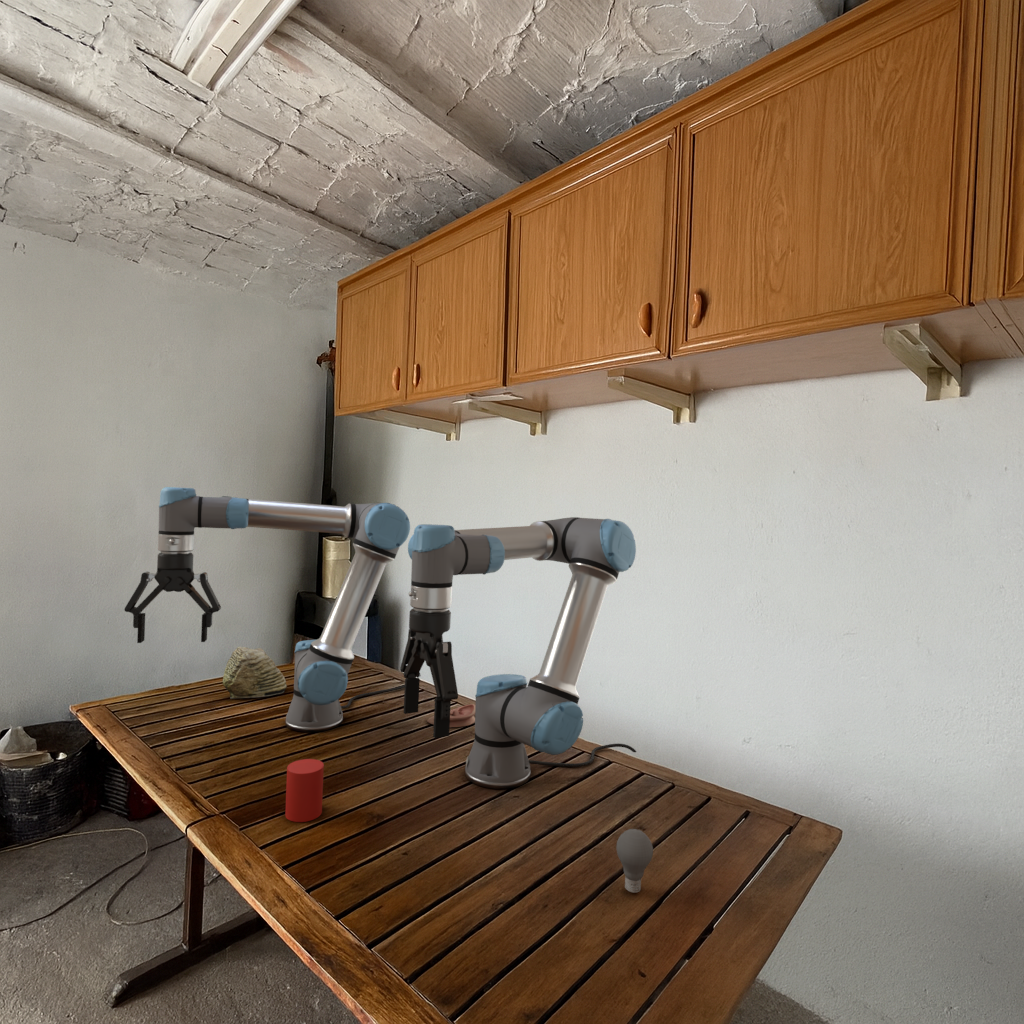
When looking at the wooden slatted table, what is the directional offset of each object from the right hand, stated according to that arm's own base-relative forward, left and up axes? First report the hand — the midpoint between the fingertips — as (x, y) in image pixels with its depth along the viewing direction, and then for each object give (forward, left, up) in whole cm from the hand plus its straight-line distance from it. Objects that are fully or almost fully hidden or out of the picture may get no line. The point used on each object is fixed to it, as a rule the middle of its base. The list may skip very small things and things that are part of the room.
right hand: (425, 724), depth 116 cm
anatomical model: (-32, -57, -23) cm, 69 cm away
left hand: (+40, -62, +5) cm, 74 cm away
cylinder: (+17, -21, -23) cm, 35 cm away
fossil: (+16, -102, -23) cm, 106 cm away
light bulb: (-27, +28, -23) cm, 45 cm away
